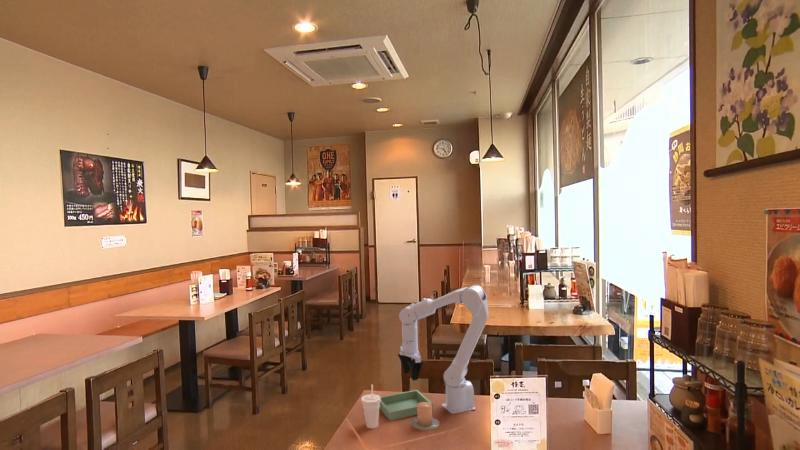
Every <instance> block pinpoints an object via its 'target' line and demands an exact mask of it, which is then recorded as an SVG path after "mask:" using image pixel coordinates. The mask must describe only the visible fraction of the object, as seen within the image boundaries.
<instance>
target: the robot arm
mask: <svg viewBox="0 0 800 450" xmlns="http://www.w3.org/2000/svg"><path fill="white" fill-rule="evenodd" d="M420 300H421V301H418V302H416V303H414V302H413V303H410V305H408V306H405V308H402V309H401V310H400V312H399V314H398V318H399V321H400V322H401V345H400V346H399V348H400V351H399V353H398V354H397V357H398V358H399V360H400V363H401V367H402V371H403V374H409V373H410V376H411V380H412V381H417V380H419V377H420V372H421V370H422V366H423V365H424V360H423V359H422V356H421V355H420V352H419V345H418V344H419V342H418V340H419V337H418V334H419V333H418V320H422V319H424V318H426V317H429V316H431V315H434V314H435V313H436V310H437V309H439V308H442V307H444V306H447V305H450V304H453V303H455V304H458V305H464V306H465V308H466V309H467V310H468V311H469V312H470V314H471V316H472V319H471V320H470V324H469V326H468V328H467V330H466V332H465V335H464V336H463V339H462V342H461V343H460V346H459V348H458V350H457V353H456V355H455V357H454V358H453V360H452V362H451V364H450V365H449V366H448V368H447V369H446V370H445V371H444V373H443V376H442V377H443V382H445V403H442V404H441V407H443V408H444V409H446V410H447V411H448V412H449V413H450V414H453V415H454V414H457V413H462V412H466V411H475V410H476V407H475V390H474V386H473V384H472V382H471V381H470V380H466V378H465V376H467V373H468V365H469V364H470V363H469V362H470V359H471V357H472V354H473V352H474V350H475V349H476V346H477V343H478V341H479V339H480V337H481V335H482V333H483V330H484V328H485V327H486V324H487V321H488V319H489V317H490V314H489V306H488V305H489V304H488V295H487V294H486V291H485V290H484V287H482V286H481V285H479V284H473V285H470V286H469V287H468V286H465V287H461V288H459V289H456V290H454V291H451V292H449V293H447V294H445V295H443V296H440V297H437V298H435V299H432V298H425V297H424V298H421V299H420Z"/></svg>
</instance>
